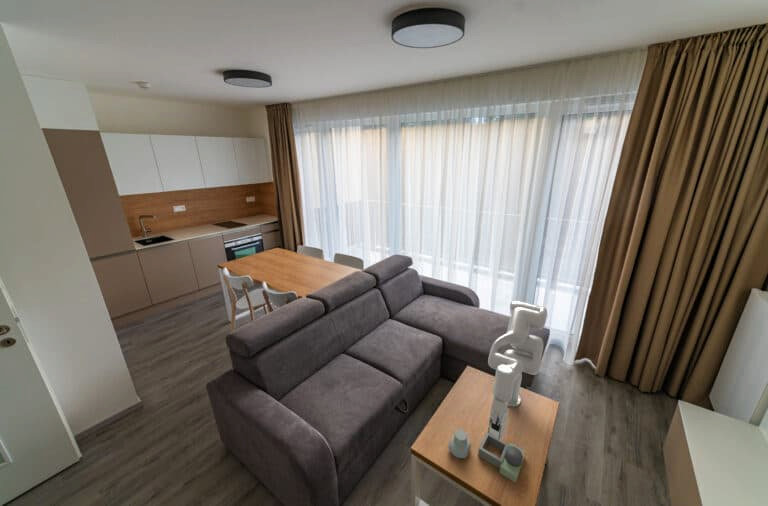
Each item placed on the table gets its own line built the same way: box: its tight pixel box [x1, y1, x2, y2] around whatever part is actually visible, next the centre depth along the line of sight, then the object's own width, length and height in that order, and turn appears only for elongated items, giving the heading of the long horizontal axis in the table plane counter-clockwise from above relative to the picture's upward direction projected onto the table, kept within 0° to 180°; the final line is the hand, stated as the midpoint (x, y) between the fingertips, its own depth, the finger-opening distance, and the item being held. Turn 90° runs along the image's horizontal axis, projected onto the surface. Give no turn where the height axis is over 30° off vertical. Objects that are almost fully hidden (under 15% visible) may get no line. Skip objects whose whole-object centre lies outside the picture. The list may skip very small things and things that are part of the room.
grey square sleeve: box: [477, 431, 526, 484], centre depth 132 cm, size 14×17×7 cm
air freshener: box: [448, 429, 472, 459], centre depth 135 cm, size 11×8×10 cm
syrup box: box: [487, 408, 509, 441], centre depth 128 cm, size 6×6×14 cm
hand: (497, 423), depth 129 cm, fingers closed on syrup box, 6 cm apart
